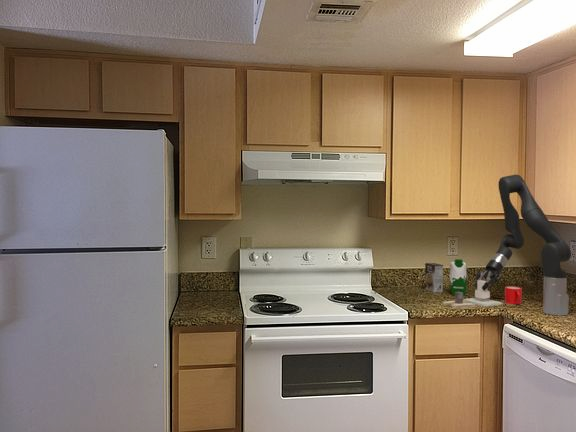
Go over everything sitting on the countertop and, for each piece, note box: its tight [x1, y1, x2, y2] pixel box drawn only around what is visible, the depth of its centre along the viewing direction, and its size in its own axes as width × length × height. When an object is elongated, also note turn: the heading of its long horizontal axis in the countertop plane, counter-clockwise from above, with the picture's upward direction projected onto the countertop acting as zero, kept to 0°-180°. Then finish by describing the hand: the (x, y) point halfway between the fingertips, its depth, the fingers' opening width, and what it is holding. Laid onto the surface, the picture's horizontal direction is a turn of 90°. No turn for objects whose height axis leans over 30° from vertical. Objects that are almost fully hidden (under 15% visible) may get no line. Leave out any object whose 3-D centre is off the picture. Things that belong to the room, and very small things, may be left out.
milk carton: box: [449, 258, 467, 296], centre depth 247 cm, size 9×9×20 cm
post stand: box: [442, 292, 477, 310], centre depth 219 cm, size 11×11×7 cm
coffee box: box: [424, 262, 444, 293], centre depth 257 cm, size 9×6×16 cm
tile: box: [463, 297, 503, 307], centre depth 225 cm, size 14×12×1 cm
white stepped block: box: [474, 279, 491, 299], centre depth 225 cm, size 5×5×8 cm
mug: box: [504, 285, 523, 305], centre depth 223 cm, size 8×12×8 cm, turn 177°
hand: (479, 288), depth 224 cm, fingers closed on white stepped block, 4 cm apart
